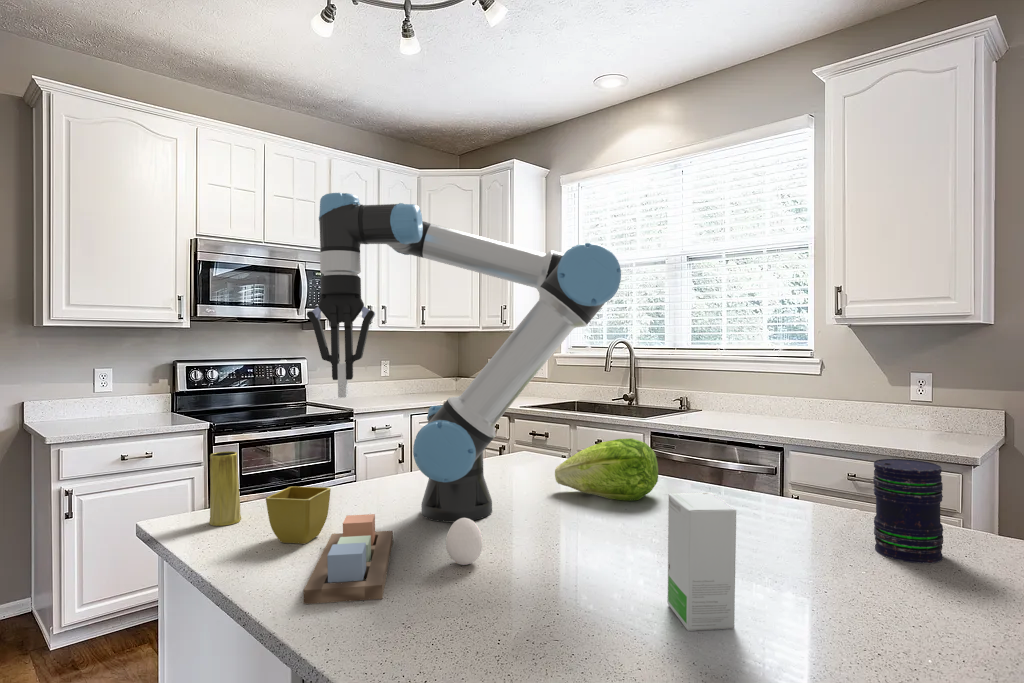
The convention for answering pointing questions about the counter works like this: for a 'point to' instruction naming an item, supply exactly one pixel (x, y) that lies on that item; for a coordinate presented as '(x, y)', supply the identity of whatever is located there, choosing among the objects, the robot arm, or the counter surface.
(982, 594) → the counter surface
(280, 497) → the flower pot
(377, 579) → the board
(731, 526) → the skincare box
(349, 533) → the key rust
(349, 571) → the key slate
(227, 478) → the vase
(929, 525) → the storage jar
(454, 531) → the egg
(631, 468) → the lettuce
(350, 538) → the key sage
